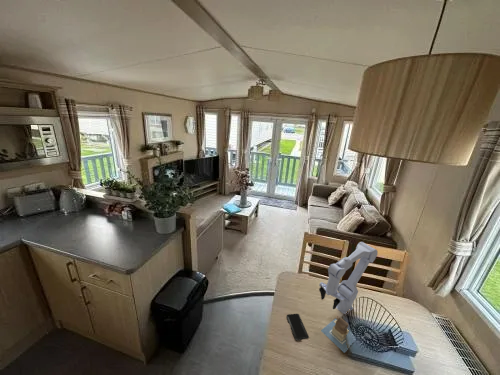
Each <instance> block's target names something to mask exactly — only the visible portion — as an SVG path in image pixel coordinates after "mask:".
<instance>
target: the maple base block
mask: <svg viewBox="0 0 500 375" xmlns="http://www.w3.org/2000/svg"><path fill="white" fill-rule="evenodd" d="M348 329H349V328H348ZM348 329H347V331H346V332H345V333H343V334H341V333H340V332H339V331H337V330H336V329H335V326H334V327H333V329H332V334H334V335H335V336H336V337H337V338H338V339H339V340H340V341H341V342H342V341H343V340H344V339H345V338H346V335H347V334H348V333H349V330H350V329H349V330H348Z"/></svg>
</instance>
